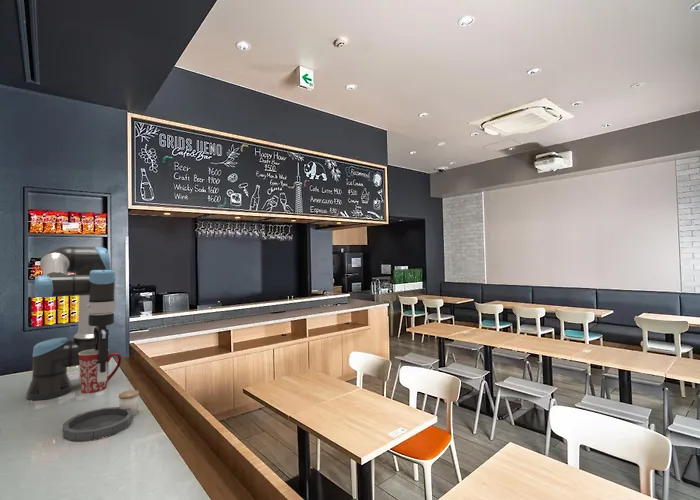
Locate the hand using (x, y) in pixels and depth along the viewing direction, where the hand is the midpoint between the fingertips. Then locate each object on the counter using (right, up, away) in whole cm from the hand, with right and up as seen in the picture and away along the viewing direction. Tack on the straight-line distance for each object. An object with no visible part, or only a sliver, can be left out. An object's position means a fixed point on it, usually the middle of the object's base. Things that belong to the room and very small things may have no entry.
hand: (100, 378), depth 128 cm
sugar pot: (+3, -17, +11) cm, 21 cm away
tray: (0, -17, 0) cm, 17 cm away
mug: (0, -4, 0) cm, 4 cm away
